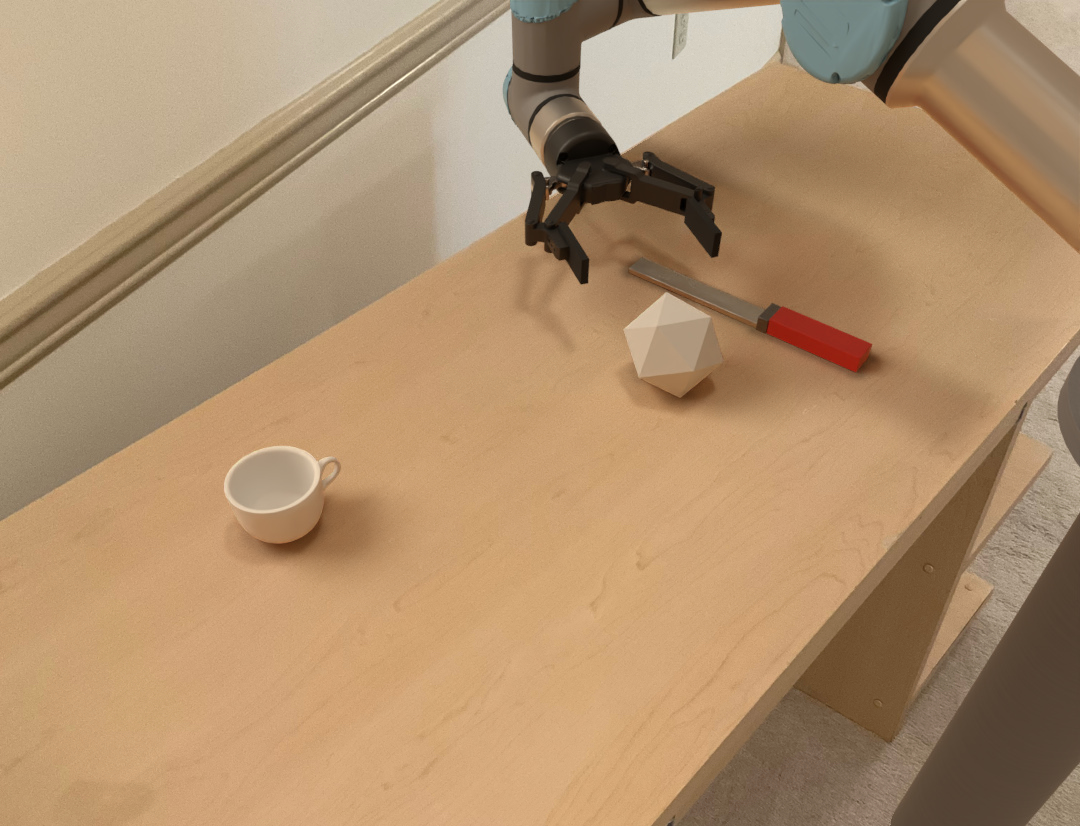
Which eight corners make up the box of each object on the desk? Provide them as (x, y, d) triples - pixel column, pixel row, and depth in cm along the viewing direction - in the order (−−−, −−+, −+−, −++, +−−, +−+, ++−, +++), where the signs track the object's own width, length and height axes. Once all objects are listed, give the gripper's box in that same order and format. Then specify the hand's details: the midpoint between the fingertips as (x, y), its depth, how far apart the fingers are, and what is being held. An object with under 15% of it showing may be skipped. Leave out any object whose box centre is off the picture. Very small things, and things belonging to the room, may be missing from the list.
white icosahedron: (734, 386, 99) (722, 282, 97) (712, 400, 92) (698, 287, 89) (651, 395, 103) (638, 295, 101) (623, 410, 95) (608, 302, 93)
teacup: (267, 571, 83) (253, 529, 79) (221, 517, 87) (206, 474, 83) (369, 514, 88) (361, 470, 83) (321, 464, 91) (311, 420, 87)
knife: (868, 357, 101) (873, 343, 100) (855, 373, 100) (859, 358, 98) (642, 260, 112) (643, 246, 110) (627, 273, 110) (628, 259, 109)
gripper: (677, 162, 115) (762, 267, 102) (466, 200, 110) (528, 316, 97) (684, 97, 109) (776, 200, 97) (462, 134, 104) (527, 248, 91)
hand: (651, 258), depth 97 cm, fingers open, 13 cm apart
